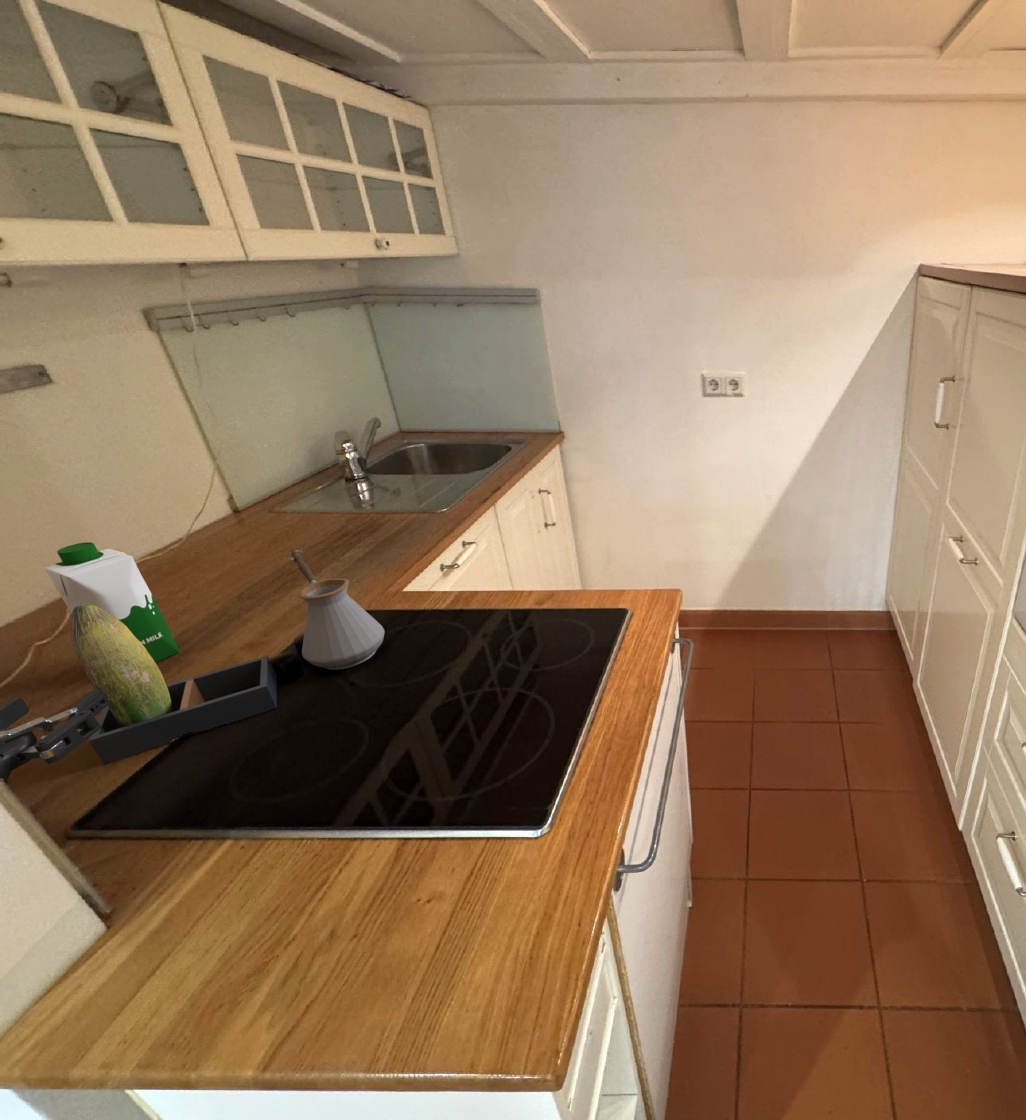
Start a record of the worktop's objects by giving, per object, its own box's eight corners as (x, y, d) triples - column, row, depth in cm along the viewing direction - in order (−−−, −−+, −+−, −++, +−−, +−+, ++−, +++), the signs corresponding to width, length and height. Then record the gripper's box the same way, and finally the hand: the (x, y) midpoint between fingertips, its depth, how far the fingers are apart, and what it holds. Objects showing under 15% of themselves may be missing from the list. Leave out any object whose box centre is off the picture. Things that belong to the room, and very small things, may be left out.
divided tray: (103, 764, 79) (88, 740, 77) (118, 724, 86) (104, 702, 85) (276, 708, 89) (266, 685, 87) (277, 676, 96) (267, 655, 94)
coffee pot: (400, 653, 101) (372, 573, 94) (320, 686, 93) (283, 601, 87) (357, 611, 114) (330, 537, 107) (284, 637, 106) (250, 560, 100)
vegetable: (194, 709, 89) (128, 589, 80) (175, 737, 84) (102, 612, 75) (142, 720, 87) (68, 599, 78) (119, 749, 82) (37, 622, 73)
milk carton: (161, 639, 107) (105, 534, 98) (189, 650, 103) (133, 543, 94) (96, 666, 99) (28, 556, 91) (123, 679, 96) (56, 566, 87)
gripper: (-23, 768, 58) (114, 667, 72) (-202, 788, 56) (-25, 681, 70) (21, 824, 61) (143, 717, 75) (-146, 844, 59) (12, 731, 74)
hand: (62, 699), depth 73 cm, fingers open, 8 cm apart
